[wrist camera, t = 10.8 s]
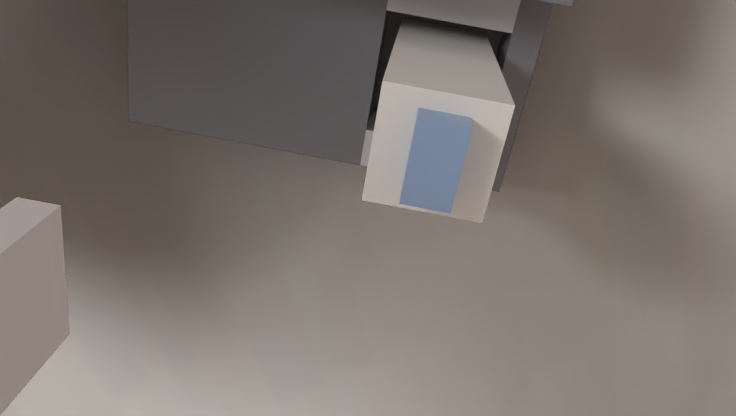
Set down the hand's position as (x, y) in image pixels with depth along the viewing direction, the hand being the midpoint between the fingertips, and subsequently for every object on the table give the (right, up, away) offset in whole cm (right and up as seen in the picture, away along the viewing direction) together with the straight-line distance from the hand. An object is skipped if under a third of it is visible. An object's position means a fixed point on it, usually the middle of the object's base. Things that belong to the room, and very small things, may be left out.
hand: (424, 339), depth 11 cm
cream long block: (+2, +9, +19) cm, 21 cm away
